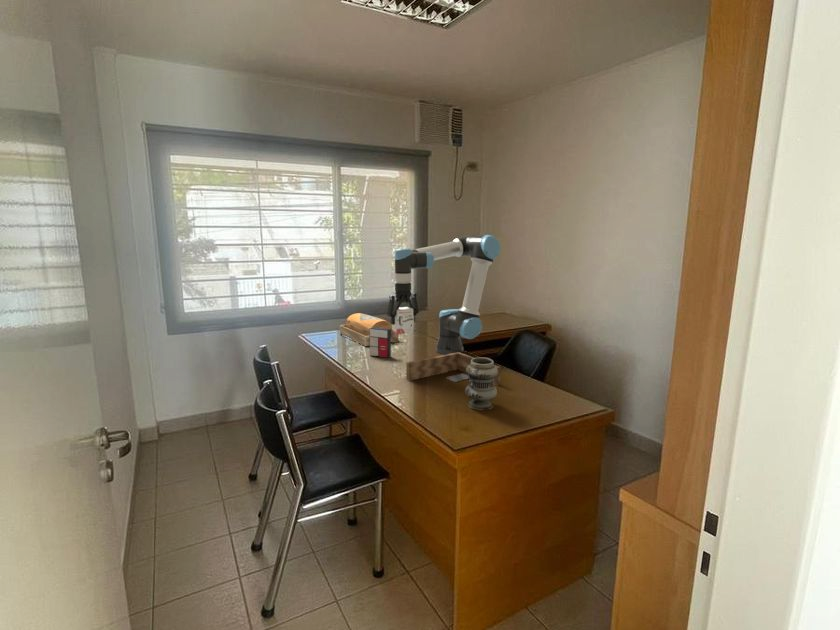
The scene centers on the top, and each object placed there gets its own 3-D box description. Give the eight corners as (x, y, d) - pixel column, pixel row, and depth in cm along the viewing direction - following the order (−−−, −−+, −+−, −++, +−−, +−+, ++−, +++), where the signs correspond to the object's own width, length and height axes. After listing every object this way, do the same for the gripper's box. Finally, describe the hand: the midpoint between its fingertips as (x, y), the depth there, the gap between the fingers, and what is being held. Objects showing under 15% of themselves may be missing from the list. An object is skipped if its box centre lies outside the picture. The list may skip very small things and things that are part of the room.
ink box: (397, 334, 202) (397, 309, 199) (392, 332, 206) (392, 307, 204) (413, 332, 206) (413, 308, 203) (409, 330, 210) (409, 306, 208)
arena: (458, 367, 211) (458, 351, 209) (499, 384, 188) (500, 367, 187) (406, 379, 194) (406, 362, 193) (444, 399, 172) (445, 380, 170)
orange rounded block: (394, 341, 260) (394, 319, 257) (370, 346, 250) (370, 322, 247) (369, 332, 283) (368, 311, 281) (346, 335, 274) (345, 314, 271)
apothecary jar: (474, 413, 159) (476, 366, 155) (459, 402, 170) (460, 357, 166) (502, 408, 163) (504, 362, 160) (485, 397, 174) (487, 354, 171)
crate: (370, 330, 288) (370, 321, 286) (398, 341, 259) (398, 331, 258) (339, 334, 275) (339, 325, 274) (365, 347, 247) (365, 336, 246)
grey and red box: (369, 356, 230) (368, 328, 227) (372, 354, 233) (372, 326, 230) (387, 358, 225) (387, 330, 223) (391, 356, 229) (391, 328, 226)
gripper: (417, 279, 210) (417, 325, 215) (378, 283, 198) (379, 331, 203) (426, 281, 204) (426, 328, 209) (387, 284, 192) (387, 334, 197)
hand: (403, 329), depth 206 cm, fingers closed on ink box, 9 cm apart
